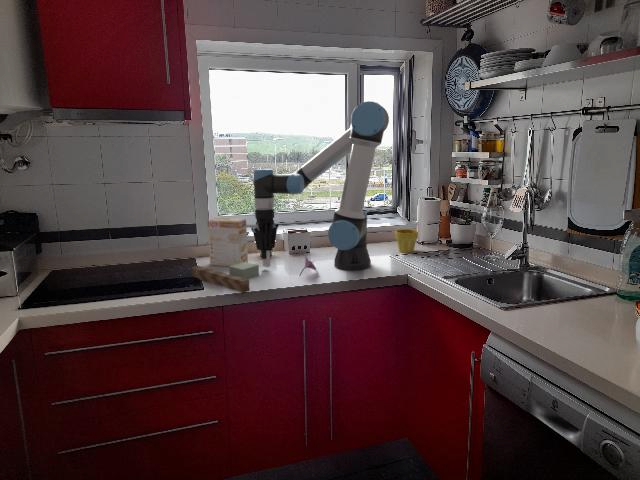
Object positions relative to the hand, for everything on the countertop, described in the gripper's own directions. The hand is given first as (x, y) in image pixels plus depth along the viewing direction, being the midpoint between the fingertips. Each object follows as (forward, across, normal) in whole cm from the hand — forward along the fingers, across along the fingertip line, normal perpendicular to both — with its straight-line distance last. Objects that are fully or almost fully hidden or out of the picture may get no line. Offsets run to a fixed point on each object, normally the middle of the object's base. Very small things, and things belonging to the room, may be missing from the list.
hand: (266, 266), depth 182 cm
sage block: (+2, +12, 0) cm, 12 cm away
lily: (+2, -5, +19) cm, 20 cm away
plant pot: (+2, -62, +29) cm, 69 cm away
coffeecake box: (+2, +4, -19) cm, 19 cm away
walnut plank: (+2, +24, 0) cm, 24 cm away
